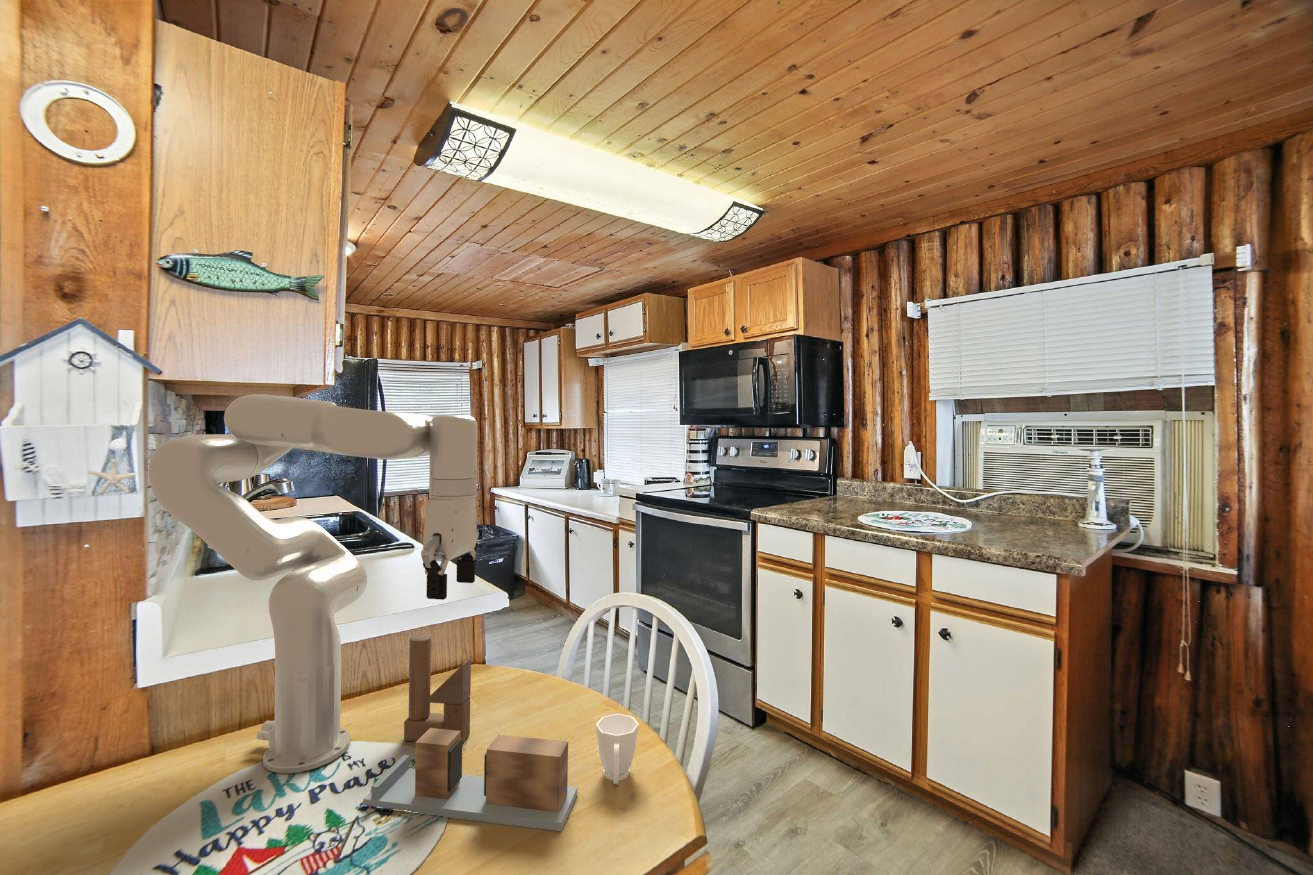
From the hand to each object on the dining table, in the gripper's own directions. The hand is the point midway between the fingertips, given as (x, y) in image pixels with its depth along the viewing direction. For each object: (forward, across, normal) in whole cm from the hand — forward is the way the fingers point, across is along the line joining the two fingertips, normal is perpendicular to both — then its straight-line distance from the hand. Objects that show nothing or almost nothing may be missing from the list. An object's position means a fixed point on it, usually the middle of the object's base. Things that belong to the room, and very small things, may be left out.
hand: (451, 590), depth 95 cm
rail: (+28, +10, +9) cm, 31 cm away
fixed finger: (+27, +10, +17) cm, 34 cm away
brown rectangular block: (+27, +10, +4) cm, 29 cm away
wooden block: (+28, -5, -5) cm, 29 cm away
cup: (+28, +1, +29) cm, 41 cm away
